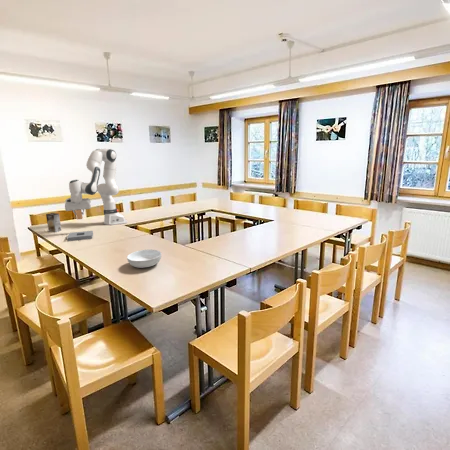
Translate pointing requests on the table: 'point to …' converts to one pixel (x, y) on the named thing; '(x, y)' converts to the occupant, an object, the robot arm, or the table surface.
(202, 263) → the table surface
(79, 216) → the plug
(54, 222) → the coffee box
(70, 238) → the socket plate
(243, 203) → the table surface
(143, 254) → the serving bowl
